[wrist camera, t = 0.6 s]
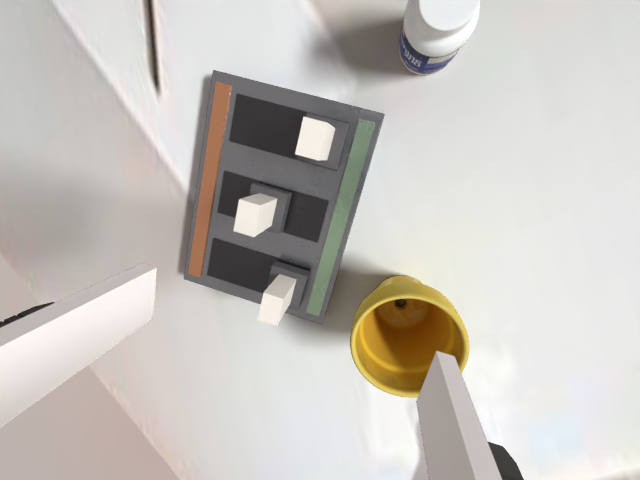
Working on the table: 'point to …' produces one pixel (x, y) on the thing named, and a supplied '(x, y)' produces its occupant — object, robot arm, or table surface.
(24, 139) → the table surface
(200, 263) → the panel
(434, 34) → the pill bottle
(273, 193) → the breaker mid
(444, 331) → the plant pot
